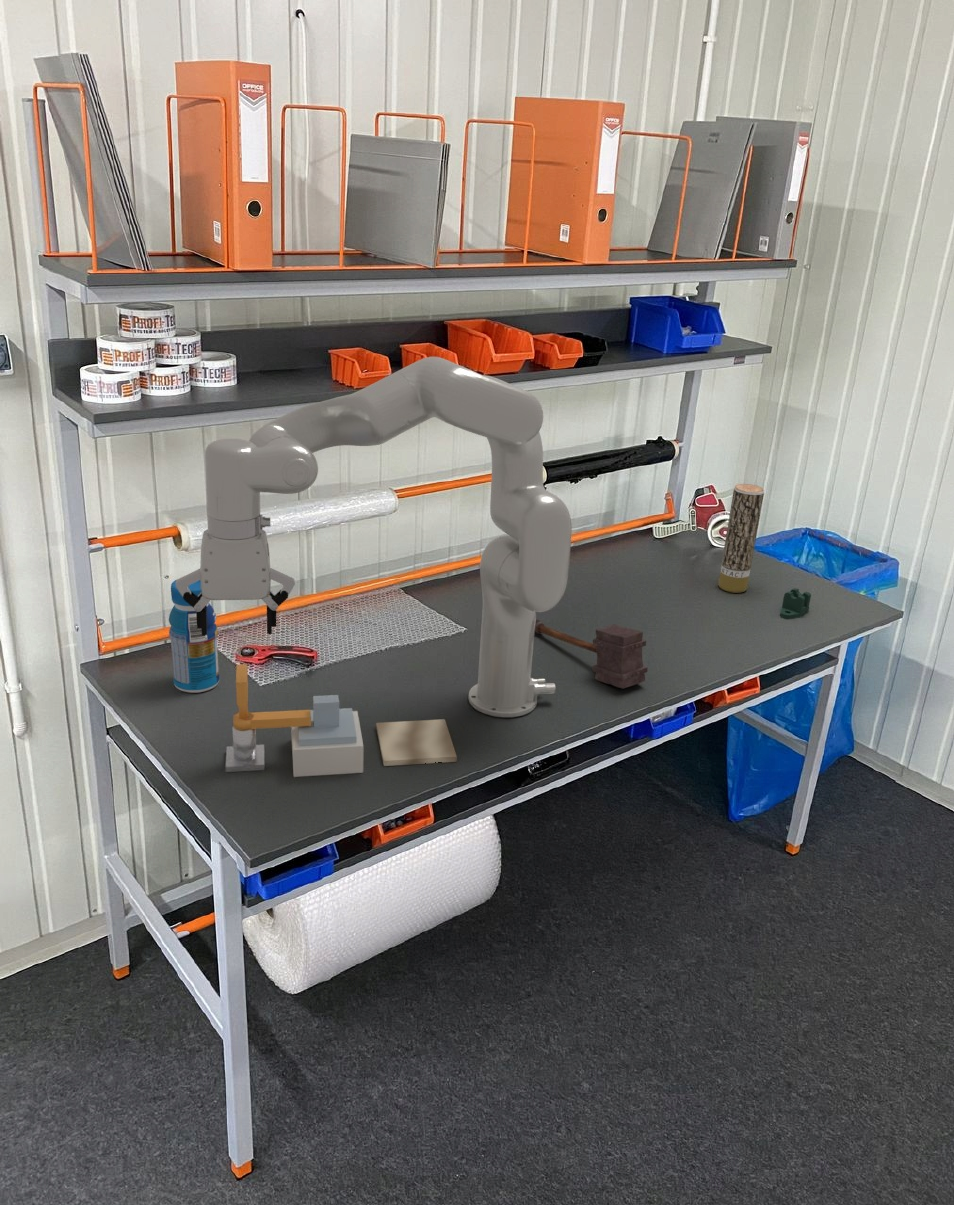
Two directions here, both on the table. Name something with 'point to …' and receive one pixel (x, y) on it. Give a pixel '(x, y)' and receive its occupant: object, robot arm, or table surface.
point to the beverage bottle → (192, 645)
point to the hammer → (610, 653)
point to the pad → (415, 742)
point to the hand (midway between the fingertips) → (237, 631)
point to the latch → (263, 719)
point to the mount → (795, 604)
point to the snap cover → (328, 723)
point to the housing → (327, 756)
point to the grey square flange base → (244, 752)
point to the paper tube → (741, 537)
